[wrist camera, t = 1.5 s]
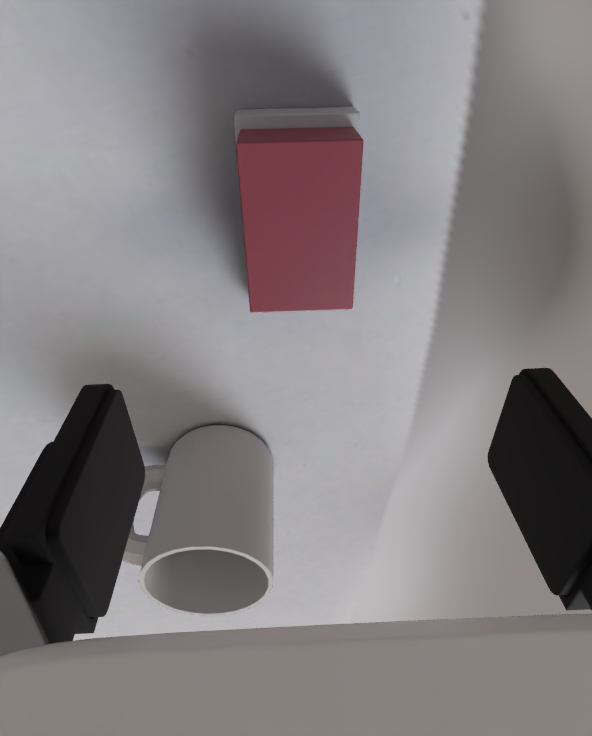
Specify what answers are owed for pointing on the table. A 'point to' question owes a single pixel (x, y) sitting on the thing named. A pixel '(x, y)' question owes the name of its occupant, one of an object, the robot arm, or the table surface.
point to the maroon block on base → (299, 206)
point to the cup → (209, 524)
